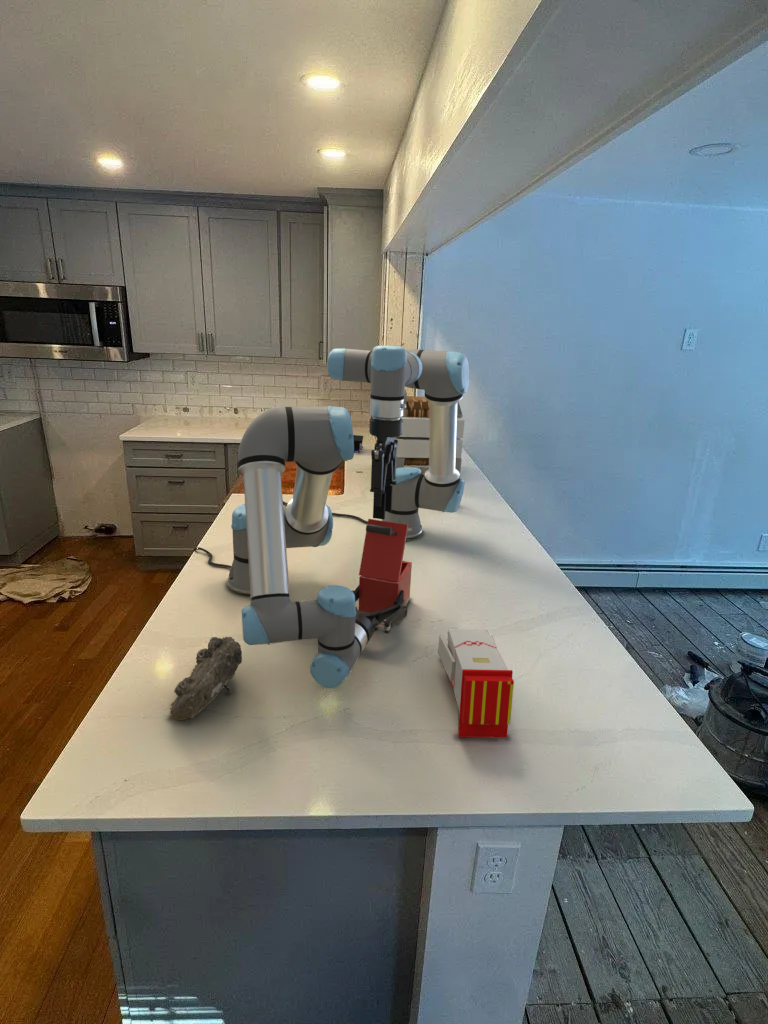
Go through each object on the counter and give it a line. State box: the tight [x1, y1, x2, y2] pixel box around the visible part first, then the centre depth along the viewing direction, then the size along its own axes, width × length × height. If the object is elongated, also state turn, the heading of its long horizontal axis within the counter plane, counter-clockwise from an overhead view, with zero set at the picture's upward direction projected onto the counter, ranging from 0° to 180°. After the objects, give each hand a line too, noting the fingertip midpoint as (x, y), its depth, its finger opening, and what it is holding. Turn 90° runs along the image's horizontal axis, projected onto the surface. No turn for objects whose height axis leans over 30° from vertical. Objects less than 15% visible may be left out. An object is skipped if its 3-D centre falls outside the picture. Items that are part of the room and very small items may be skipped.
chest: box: [357, 560, 413, 613], centre depth 149 cm, size 14×10×11 cm
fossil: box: [169, 636, 243, 721], centre depth 114 cm, size 22×10×15 cm
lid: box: [358, 518, 408, 582], centre depth 137 cm, size 14×10×9 cm
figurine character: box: [353, 434, 364, 454], centre depth 311 cm, size 7×8×15 cm
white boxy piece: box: [394, 389, 465, 475], centre depth 268 cm, size 34×33×41 cm
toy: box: [437, 628, 515, 738], centre depth 117 cm, size 12×13×30 cm
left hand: (381, 591), depth 145 cm, fingers closed on chest, 10 cm apart
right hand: (382, 514), depth 135 cm, fingers open, 5 cm apart
